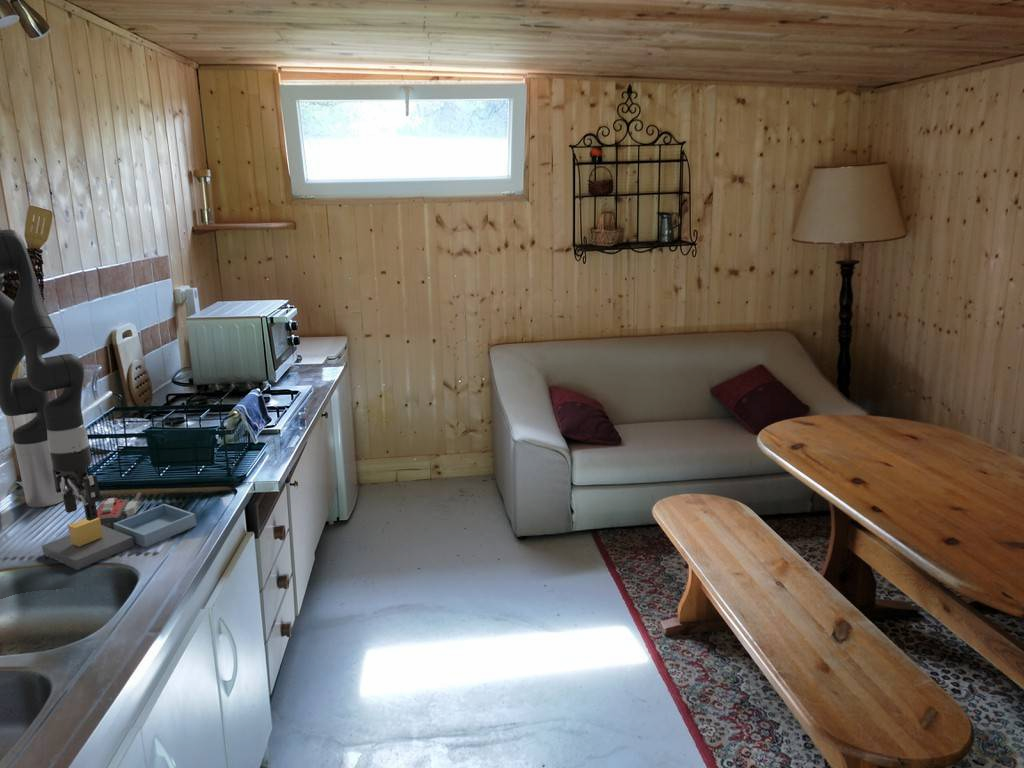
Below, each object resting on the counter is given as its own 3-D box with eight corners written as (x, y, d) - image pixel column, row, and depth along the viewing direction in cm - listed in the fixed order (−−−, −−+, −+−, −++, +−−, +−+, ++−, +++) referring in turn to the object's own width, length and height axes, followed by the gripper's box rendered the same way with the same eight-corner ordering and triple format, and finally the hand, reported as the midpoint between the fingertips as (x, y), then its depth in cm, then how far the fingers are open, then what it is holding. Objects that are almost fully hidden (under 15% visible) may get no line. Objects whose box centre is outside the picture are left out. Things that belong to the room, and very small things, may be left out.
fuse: (73, 553, 175) (67, 525, 173) (97, 543, 180) (92, 515, 178) (80, 556, 173) (75, 528, 172) (104, 546, 178) (99, 518, 176)
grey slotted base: (43, 554, 175) (41, 545, 174) (100, 532, 185) (98, 523, 185) (77, 570, 168) (75, 560, 167) (134, 545, 178) (132, 537, 177)
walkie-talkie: (129, 529, 188) (144, 497, 206) (126, 512, 187) (142, 481, 205) (88, 534, 186) (108, 501, 204) (85, 517, 184) (105, 486, 203)
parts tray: (115, 535, 184) (113, 523, 183) (166, 514, 194) (164, 503, 193) (145, 547, 177) (143, 535, 176) (196, 525, 188) (194, 513, 187)
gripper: (34, 446, 171) (48, 515, 175) (69, 456, 163) (82, 528, 167) (69, 436, 177) (81, 503, 181) (104, 446, 169) (116, 515, 173)
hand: (82, 515), depth 174 cm, fingers open, 8 cm apart
